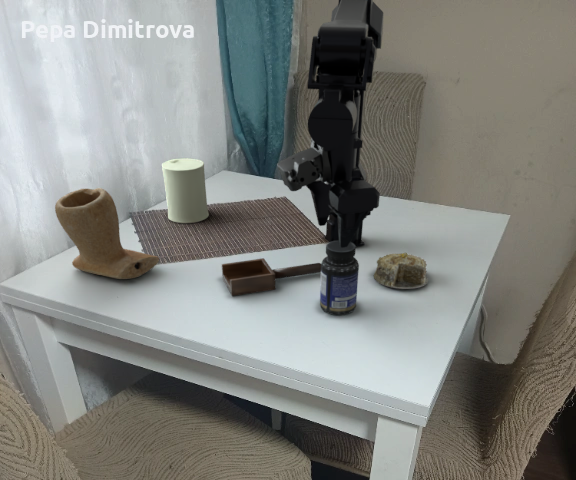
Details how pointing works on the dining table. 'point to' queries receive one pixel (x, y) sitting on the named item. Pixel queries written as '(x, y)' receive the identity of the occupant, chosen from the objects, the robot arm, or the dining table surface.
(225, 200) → the dining table surface
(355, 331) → the dining table surface
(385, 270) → the cake
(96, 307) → the dining table surface
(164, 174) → the can
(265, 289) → the scoop
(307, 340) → the dining table surface
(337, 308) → the pill bottle
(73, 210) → the clay pipe bowl
